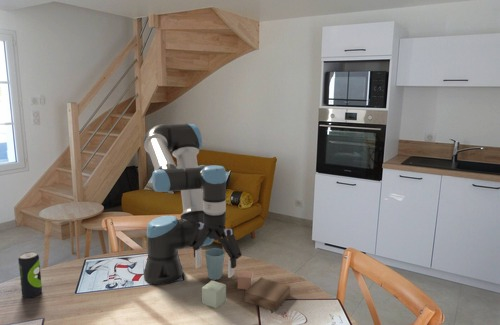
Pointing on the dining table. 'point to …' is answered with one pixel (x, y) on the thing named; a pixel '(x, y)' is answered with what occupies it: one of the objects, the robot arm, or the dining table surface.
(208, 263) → the cup
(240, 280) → the terracotta cube
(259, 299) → the walnut block
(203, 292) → the pale green cube
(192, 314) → the dining table surface
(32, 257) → the beverage can
